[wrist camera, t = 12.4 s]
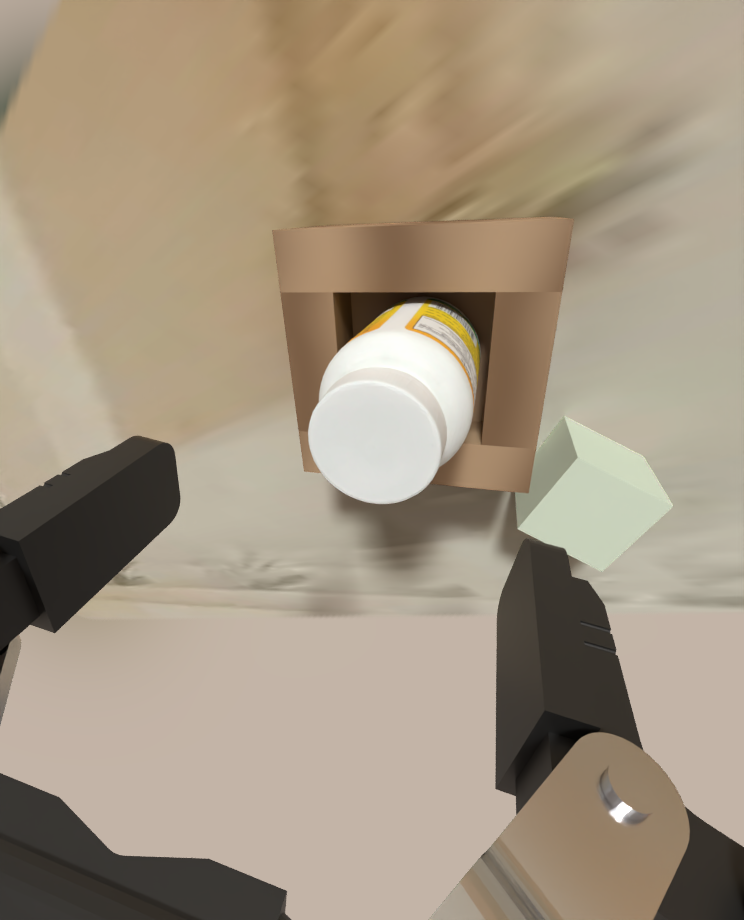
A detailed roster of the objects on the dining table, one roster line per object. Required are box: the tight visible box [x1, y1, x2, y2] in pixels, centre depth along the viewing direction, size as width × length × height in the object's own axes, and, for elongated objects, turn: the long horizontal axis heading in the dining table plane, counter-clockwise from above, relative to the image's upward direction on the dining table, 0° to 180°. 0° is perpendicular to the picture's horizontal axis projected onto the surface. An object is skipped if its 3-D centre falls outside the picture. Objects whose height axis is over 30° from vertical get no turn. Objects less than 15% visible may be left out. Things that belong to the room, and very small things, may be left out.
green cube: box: [515, 416, 673, 572], centre depth 24 cm, size 5×5×5 cm
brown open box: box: [272, 217, 574, 493], centre depth 21 cm, size 11×11×6 cm
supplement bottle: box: [308, 297, 481, 504], centre depth 16 cm, size 5×5×10 cm
